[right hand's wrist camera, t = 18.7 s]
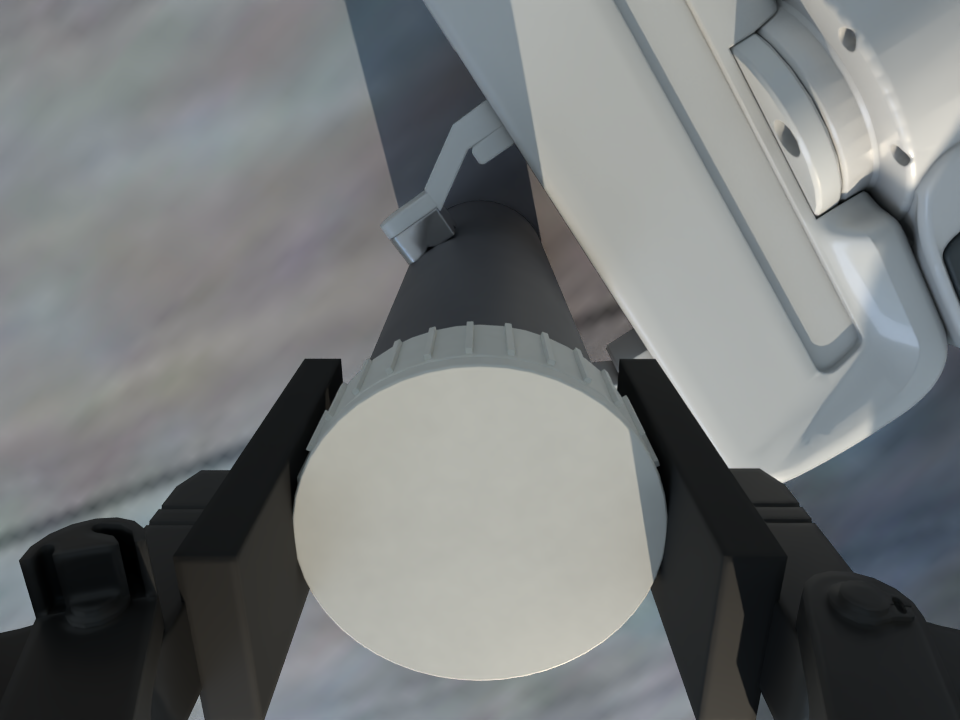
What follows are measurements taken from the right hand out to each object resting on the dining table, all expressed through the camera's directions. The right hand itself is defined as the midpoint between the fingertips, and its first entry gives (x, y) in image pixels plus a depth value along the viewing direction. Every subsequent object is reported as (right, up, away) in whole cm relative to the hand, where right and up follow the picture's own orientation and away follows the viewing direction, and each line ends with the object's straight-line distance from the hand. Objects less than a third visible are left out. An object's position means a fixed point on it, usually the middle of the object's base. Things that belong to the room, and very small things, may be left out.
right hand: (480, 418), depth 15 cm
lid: (0, -1, -4) cm, 4 cm away
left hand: (-1, +2, +8) cm, 8 cm away
